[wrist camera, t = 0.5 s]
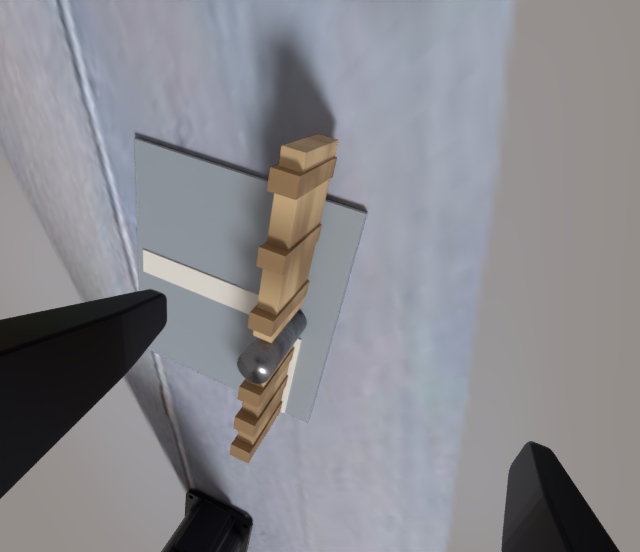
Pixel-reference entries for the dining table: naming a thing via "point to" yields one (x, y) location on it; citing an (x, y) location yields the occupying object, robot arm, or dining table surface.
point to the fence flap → (292, 231)
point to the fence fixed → (258, 410)
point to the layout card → (230, 267)
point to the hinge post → (270, 351)
